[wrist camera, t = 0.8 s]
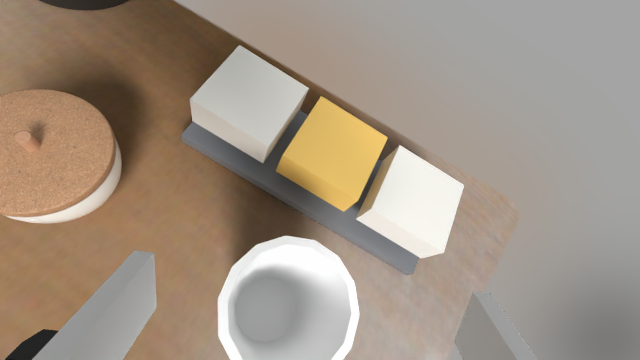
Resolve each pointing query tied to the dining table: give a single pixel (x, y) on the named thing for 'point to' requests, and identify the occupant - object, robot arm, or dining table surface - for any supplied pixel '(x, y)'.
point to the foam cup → (288, 303)
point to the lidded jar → (54, 156)
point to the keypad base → (301, 192)
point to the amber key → (332, 155)
